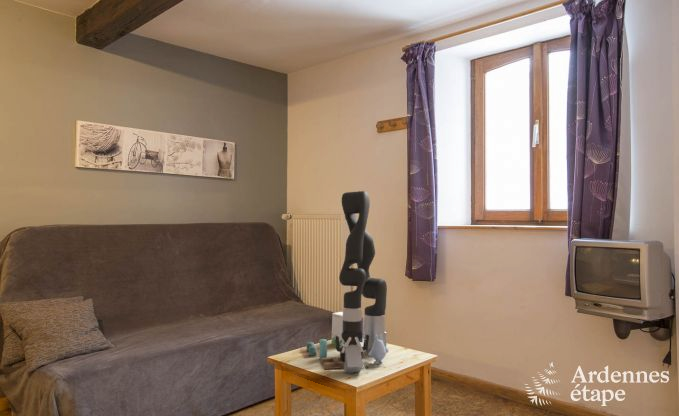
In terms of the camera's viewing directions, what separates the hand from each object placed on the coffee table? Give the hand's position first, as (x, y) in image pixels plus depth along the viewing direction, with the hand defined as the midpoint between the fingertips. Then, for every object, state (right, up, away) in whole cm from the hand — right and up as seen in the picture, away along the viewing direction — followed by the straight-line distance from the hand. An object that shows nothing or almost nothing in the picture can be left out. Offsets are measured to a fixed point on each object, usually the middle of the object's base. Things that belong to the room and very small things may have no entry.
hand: (351, 361), depth 185 cm
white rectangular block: (0, +1, +2) cm, 2 cm away
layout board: (-17, -4, +20) cm, 26 cm away
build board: (-6, -4, +6) cm, 9 cm away
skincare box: (-3, -5, +34) cm, 35 cm away
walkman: (+3, -5, +44) cm, 44 cm away
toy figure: (+11, -4, +10) cm, 16 cm away
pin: (-12, -4, +12) cm, 17 cm away
